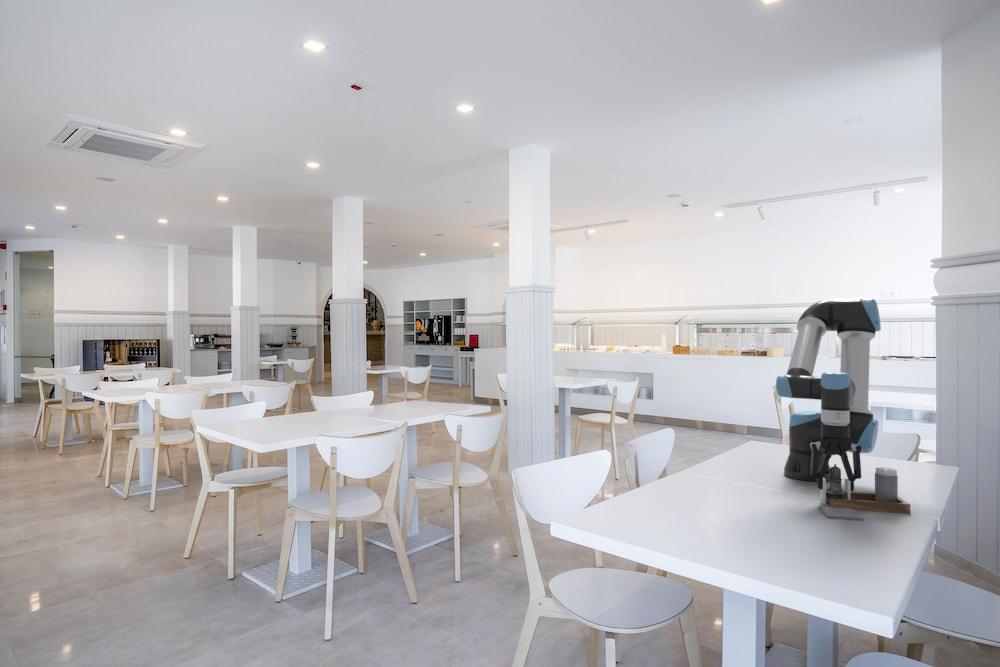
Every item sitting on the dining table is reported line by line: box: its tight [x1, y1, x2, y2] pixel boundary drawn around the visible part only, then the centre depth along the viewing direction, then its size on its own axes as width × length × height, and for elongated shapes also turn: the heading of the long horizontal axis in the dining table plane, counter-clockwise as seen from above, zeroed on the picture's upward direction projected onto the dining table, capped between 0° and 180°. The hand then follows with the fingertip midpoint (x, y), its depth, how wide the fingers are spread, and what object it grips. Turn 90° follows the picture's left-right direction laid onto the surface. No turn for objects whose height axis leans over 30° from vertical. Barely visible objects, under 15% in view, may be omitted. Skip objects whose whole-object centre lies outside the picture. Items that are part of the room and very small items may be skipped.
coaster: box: [817, 505, 865, 521], centre depth 163 cm, size 9×9×1 cm
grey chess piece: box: [824, 463, 847, 506], centre depth 173 cm, size 6×6×12 cm
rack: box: [826, 491, 911, 514], centre depth 171 cm, size 10×20×2 cm, turn 76°
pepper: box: [874, 466, 899, 503], centre depth 170 cm, size 6×6×11 cm
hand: (835, 500), depth 173 cm, fingers closed on grey chess piece, 6 cm apart
